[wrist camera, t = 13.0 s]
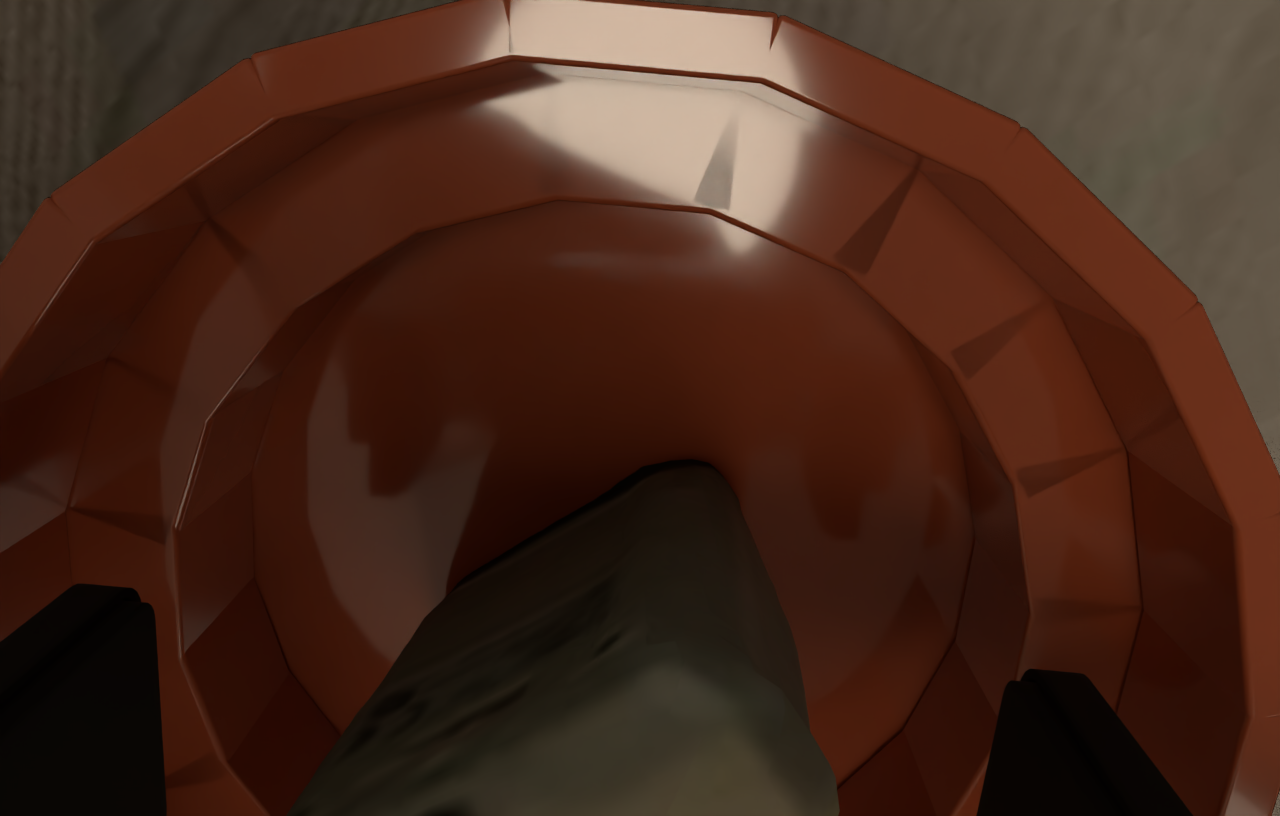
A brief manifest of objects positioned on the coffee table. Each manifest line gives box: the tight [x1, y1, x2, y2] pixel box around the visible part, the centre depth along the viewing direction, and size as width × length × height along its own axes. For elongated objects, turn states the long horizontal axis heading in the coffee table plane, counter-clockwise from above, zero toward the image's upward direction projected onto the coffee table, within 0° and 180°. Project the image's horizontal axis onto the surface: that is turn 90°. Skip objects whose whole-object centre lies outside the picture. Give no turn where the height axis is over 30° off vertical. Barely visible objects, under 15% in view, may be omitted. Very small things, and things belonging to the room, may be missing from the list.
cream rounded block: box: [286, 459, 840, 816], centre depth 12 cm, size 6×5×8 cm
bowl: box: [0, 0, 1280, 816], centre depth 13 cm, size 15×15×6 cm
